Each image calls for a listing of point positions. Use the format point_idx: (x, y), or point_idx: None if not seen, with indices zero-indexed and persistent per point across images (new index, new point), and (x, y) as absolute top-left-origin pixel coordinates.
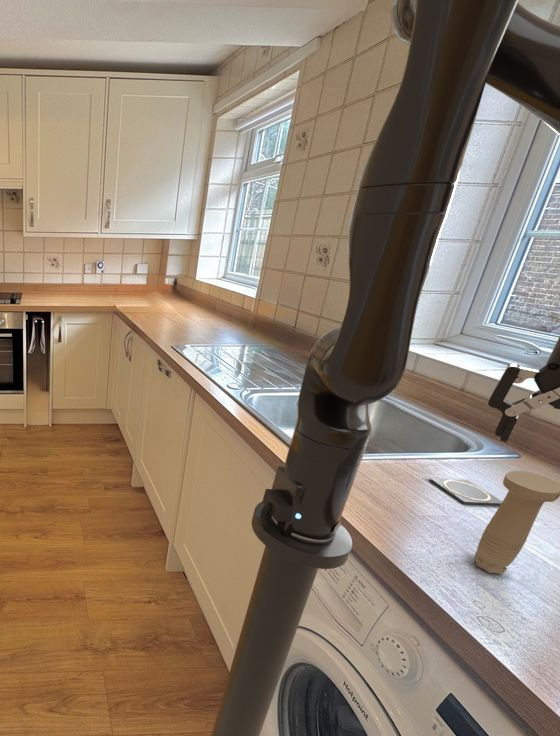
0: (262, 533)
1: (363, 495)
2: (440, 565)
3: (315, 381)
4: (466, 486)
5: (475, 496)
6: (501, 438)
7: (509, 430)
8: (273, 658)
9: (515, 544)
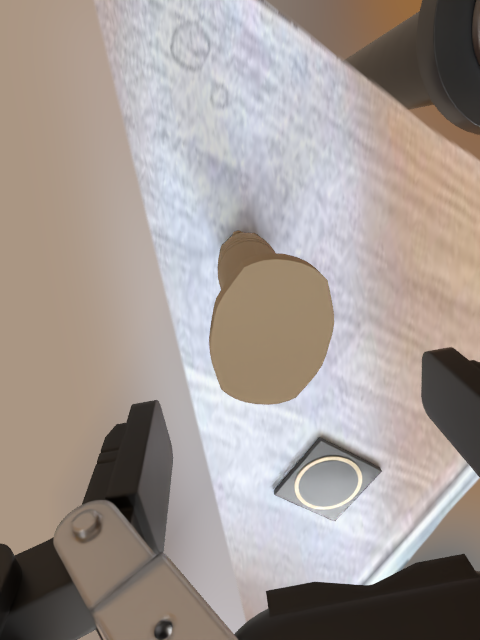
0: None
1: (460, 293)
2: (295, 167)
3: None
4: (331, 495)
5: (313, 474)
6: (451, 349)
7: (467, 378)
8: (357, 53)
9: (227, 251)
